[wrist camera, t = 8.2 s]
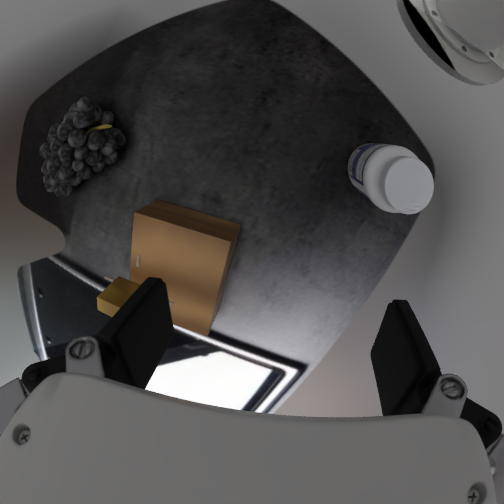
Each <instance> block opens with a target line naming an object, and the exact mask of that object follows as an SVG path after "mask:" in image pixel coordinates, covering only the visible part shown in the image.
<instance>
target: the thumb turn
mask: <svg viewBox="0 0 504 504" xmlns="http://www.w3.org/2000/svg"><path fill="white" fill-rule="evenodd" d="M139 286H140V285H139V284H136V283H134V282H131V281H129V280H126V279H124V278H122V277H118V278H116V279H115V280H114V281H113V282H112V283H111V284H110V285H109V286H108V287H107V288H106V289H105V290H104V291H103V292H102V293H101V294H100V295H99V296H98V297H97V303H98V310H99V311H101V312H103V313H105V314H107V315H109V316H111V317H113V316H114V315H115V313H116V312H117V311H118V310H119V309H120V308H121V306H122V305H123V304H124V303H125V302H126V301H127V300H128V299H129V297H130V296H131V295H132V294H133V293H134V292H135V291H136V290H137V288H138V287H139Z"/></svg>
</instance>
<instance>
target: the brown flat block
mask: <svg viewBox="0 0 504 504" xmlns="http://www.w3.org/2000/svg"><path fill="white" fill-rule="evenodd" d="M240 227H241V224H237V223H234V222H231V221H228V220H224V219H221V218H218V217H214V216H211V215H208V214H204V213H201V212H197V211H194V210H191V209H187V208H184V207H180V206H177V205H173V204H170V203H166V202H163V201H159V200H156V201H154V202H152V203H150V204H148V205H147V206H145V207H143V208H141V209H139V210H138V211H136V212H135V213H134V222H133V234H132V248H131V267H130V281H131V282H134V283H136V284H139V285H141V284H142V283H143V282H144V281H145V280H146V279H147V278H148V277H156V278H161V279H162V280H163V282H165V283H166V286H167V292H168V299H169V305H170V311H171V316H172V322H173V324H174V325H177V326H180V327H183V328H185V329H188V330H191V331H194V332H197V333H200V334H202V335H205V336H208V334H209V332H210V329H211V327H212V325H213V322H214V320H215V317H216V315H217V312H218V310H219V306H220V302H221V298H222V294H223V290H224V287H225V283H226V279H227V275H228V271H229V268H230V264H231V260H232V256H233V253H234V249H235V245H236V242H237V238H238V234H239V231H240ZM104 278H105V279H107V280H109V281H111V282H113V281H114V279H112V278H110V277H108V276H105V275H104Z"/></svg>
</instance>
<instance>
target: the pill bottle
mask: <svg viewBox="0 0 504 504" xmlns="http://www.w3.org/2000/svg"><path fill="white" fill-rule="evenodd" d="M348 174H349V178H350V180H351V182H352V184H353V185H354V186H355V188H356V189H357V190H358V191H359V192H361V193H362V194H363V195H364V196H365V197H367V198H368V199H369V200H370V201H371V202H372V203H373V204H375V205H376V206H377V207H379V208H380V209H382V210H384V211H387V212H391V213H400V212H401V213H404V214H414V213H417V212H420V211H421V210H423V209H424V208H425V207H426V206H427V205H428V203H429V202H430V200H431V198H432V195H433V189H434V182H433V177H432V174H431V172H430V170H429V169H428V167H427V166H426V165H425V164H424V163H423V162H422V161H420V160H419V159H418V158H417V156H416V155H415V154H414V153H413V152H411V151H410V150H408V149H407V148H404V147H401V146H397V145H388V144H378V143H368V144H364V145H362V146H360V147H358V148H357V149H356V150H355V151H354V152H353V153H352V155H351V157H350V159H349V162H348Z"/></svg>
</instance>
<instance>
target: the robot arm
mask: <svg viewBox="0 0 504 504" xmlns="http://www.w3.org/2000/svg"><path fill="white" fill-rule="evenodd" d="M423 6H424V9H425V12H426V14H427V16H428V18H429V20H430V22H431V24H432V25H433V27H434V28H435V30H436V31H437V32H438V34H439V35H440V36H441V37H442V38H443V39H444V41H445V42H446V43H447V44H448V45H449V46H450V47H451V48H453V49H454V50H455V51H456V52H457V53H459V54H460V55H461V56H463V57H465V58H466V59H468V60H470V61H473V62H475V63H480V64H484V63H489V62H492V61H494V60H495V59H496V58H497V56H498V53H499V47H503V46H504V0H423ZM98 335H99V336H98V338H97V339H95V338H93V337H91V336H81V337H78V338H75V339H74V340H72V341H71V342H70V343H69V344H68V346H67V348H66V355H62V356H59V357H55V358H52V359H48V360H44V361H41V362H37V363H34V364H31V365H30V366H28V367H27V368H26V369H25V370H24V372H23V374H22V379H21V380H20V379H19V378H16V379H14V380H13V381H11V382H9V383H7V384H5V385H4V386H2V387H0V504H504V434H503V435H502V433H501V432H502V424H501V421H500V419H499V418H498V417H497V416H496V415H495V414H494V413H492V412H490V411H489V410H487V409H485V408H484V407H482V406H480V405H478V404H477V403H475V402H473V401H472V400H470V399H468V398H467V392H468V390H467V386H466V384H465V382H464V381H463V380H462V379H461V378H460V377H458V376H457V375H454V374H443V375H442V374H441V371H440V367H439V365H438V362H437V360H436V358H435V356H434V353H433V351H432V349H431V347H430V345H429V343H428V340H427V338H426V336H425V334H424V332H423V330H422V328H421V326H420V324H419V322H418V320H417V318H416V316H415V314H414V312H413V311H412V309H411V307H410V305H409V303H408V301H407V300H393V301H392V303H389V304H388V306H387V309H386V312H385V315H384V318H383V321H382V323H381V326H380V329H379V332H378V335H377V337H376V340H375V343H374V345H373V347H372V350H371V360H372V365H373V369H374V374H375V378H376V383H377V387H378V392H379V397H380V402H381V407H382V413H383V416H378V417H377V416H376V417H349V418H348V417H347V418H346V417H344V418H342V417H341V418H340V417H339V418H338V417H336V418H335V417H334V418H333V417H330V418H329V417H303V416H287V415H275V414H265V413H257V412H249V411H242V410H235V409H229V408H223V407H217V406H212V405H206V404H201V403H196V402H192V401H187V400H183V399H179V398H174V397H170V396H167V395H163V394H159V393H155V392H152V391H148V390H145V388H146V386H147V384H148V382H149V380H150V378H151V377H152V375H153V373H154V371H155V369H156V367H157V365H158V364H159V362H160V360H161V358H162V356H163V355H164V353H165V351H166V349H167V347H168V345H169V344H170V342H171V340H172V338H173V336H174V327H173V322H172V316H171V311H170V305H169V299H168V292H167V286H166V283H165V282H163V280H162V279H161V278H156V277H148V278H147V279H146V280H145V281H144V282H143V283H142V284H141V285H140V286H139V287H138V288H137V290H136V291H135V292H134V293H133V294H132V295H131V296H130V297H129V299H128V300H127V301H126V302H125V303H124V304H123V305H122V306H121V308H120V309H119V310H118V311H117V312H116V313H115V315H114V316H113V317H112V318H111V319H110V320H109V322H108V323H107V324H106V325H105V326H104V327H103V329H102V330H101V331H100V332H99V333H98Z"/></svg>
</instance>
